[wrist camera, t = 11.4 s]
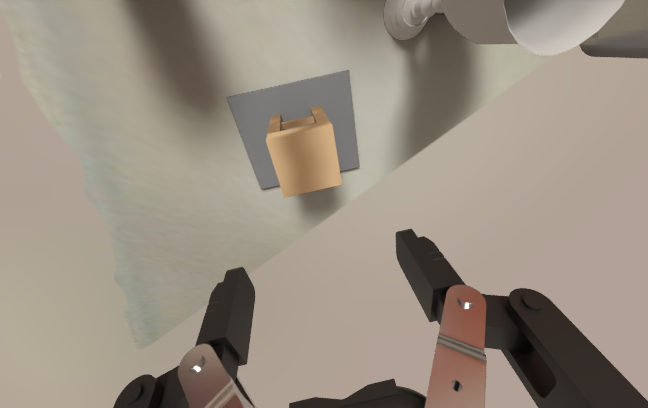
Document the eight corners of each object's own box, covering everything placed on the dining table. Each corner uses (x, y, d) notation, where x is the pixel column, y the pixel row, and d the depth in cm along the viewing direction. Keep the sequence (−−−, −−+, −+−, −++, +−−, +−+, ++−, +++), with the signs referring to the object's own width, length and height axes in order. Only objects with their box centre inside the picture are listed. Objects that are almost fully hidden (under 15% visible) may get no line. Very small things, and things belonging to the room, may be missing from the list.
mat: (347, 70, 28) (348, 70, 27) (358, 165, 34) (359, 166, 34) (227, 97, 28) (226, 97, 27) (261, 187, 34) (261, 189, 34)
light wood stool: (320, 105, 29) (332, 125, 21) (328, 152, 32) (342, 184, 25) (270, 116, 29) (265, 140, 21) (284, 162, 32) (284, 197, 25)
